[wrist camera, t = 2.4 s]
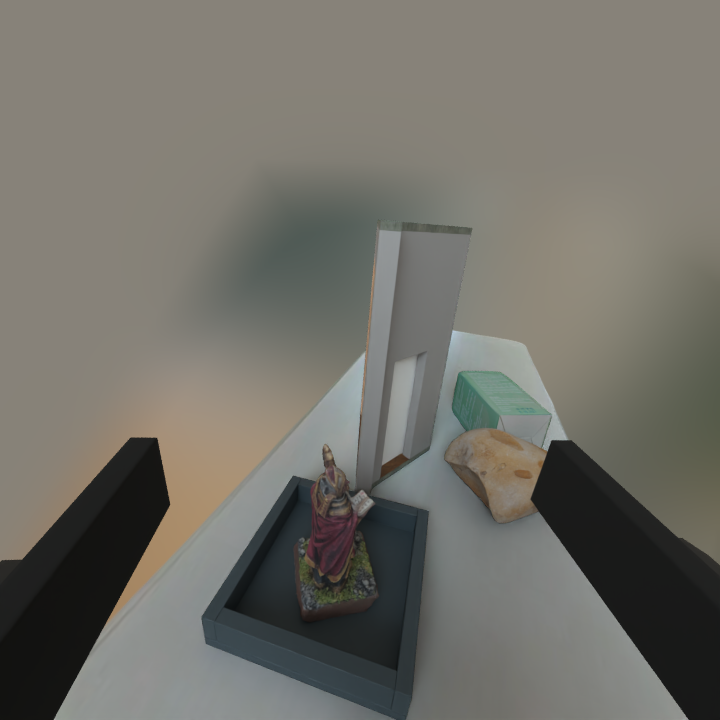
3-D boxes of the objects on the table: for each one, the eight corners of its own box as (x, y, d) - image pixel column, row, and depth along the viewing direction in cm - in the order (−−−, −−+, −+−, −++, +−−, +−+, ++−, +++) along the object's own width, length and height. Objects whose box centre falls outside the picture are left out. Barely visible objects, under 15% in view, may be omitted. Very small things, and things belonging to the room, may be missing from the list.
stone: (561, 460, 41) (595, 444, 34) (549, 550, 37) (585, 554, 30) (452, 423, 45) (462, 402, 38) (430, 502, 41) (437, 495, 34)
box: (490, 408, 57) (501, 368, 54) (538, 463, 44) (555, 415, 41) (449, 408, 56) (458, 368, 53) (486, 464, 43) (500, 415, 40)
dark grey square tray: (205, 643, 23) (200, 617, 22) (293, 497, 36) (293, 475, 35) (404, 723, 20) (411, 697, 19) (424, 533, 33) (428, 510, 32)
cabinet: (360, 405, 54) (377, 220, 43) (419, 410, 54) (451, 226, 43) (353, 507, 35) (380, 220, 24) (445, 515, 35) (513, 231, 24)
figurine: (297, 626, 24) (297, 502, 19) (293, 544, 30) (292, 434, 25) (382, 608, 25) (402, 489, 21) (362, 534, 31) (374, 428, 26)
